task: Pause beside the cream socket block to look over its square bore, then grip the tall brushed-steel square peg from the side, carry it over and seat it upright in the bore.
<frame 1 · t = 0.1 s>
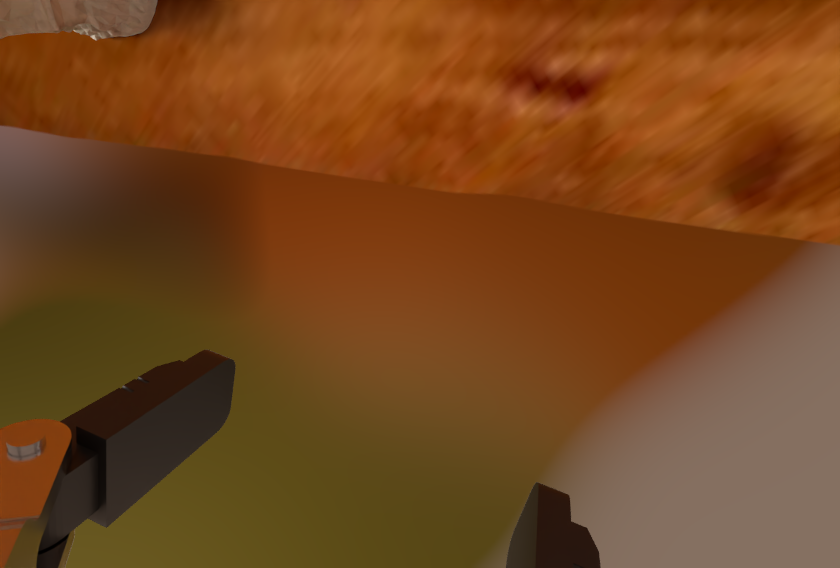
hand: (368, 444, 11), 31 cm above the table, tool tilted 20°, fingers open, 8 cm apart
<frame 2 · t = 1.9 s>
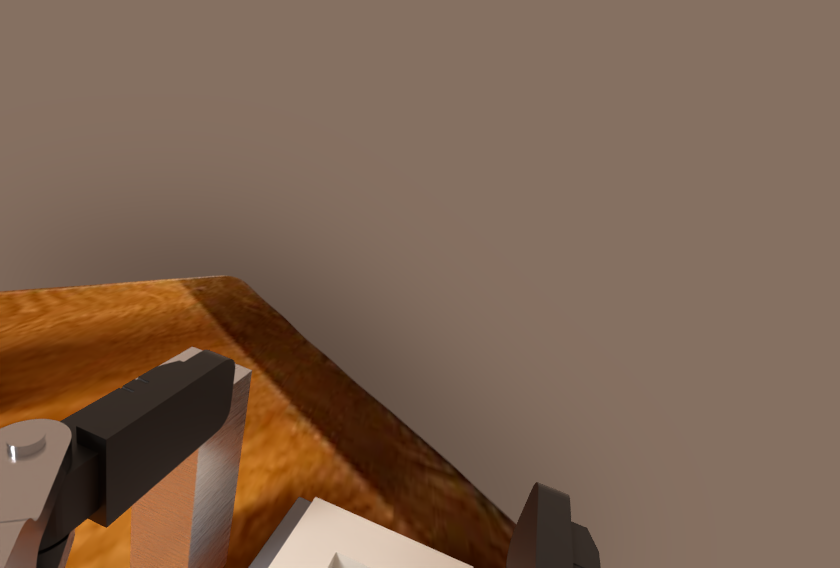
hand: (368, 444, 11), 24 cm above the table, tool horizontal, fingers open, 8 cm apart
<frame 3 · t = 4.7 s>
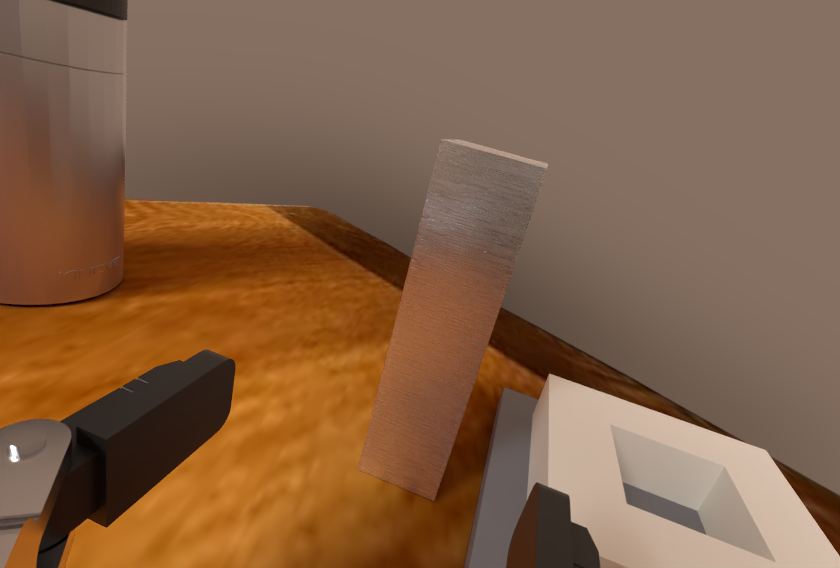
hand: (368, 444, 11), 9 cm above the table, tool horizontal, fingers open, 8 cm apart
socket block: (639, 553, 22), on the table
steel peg: (407, 458, 24), on the table
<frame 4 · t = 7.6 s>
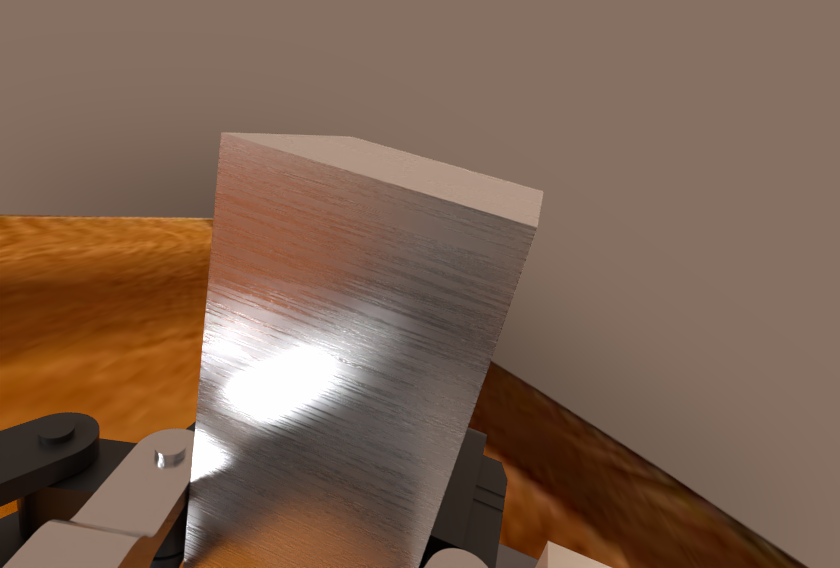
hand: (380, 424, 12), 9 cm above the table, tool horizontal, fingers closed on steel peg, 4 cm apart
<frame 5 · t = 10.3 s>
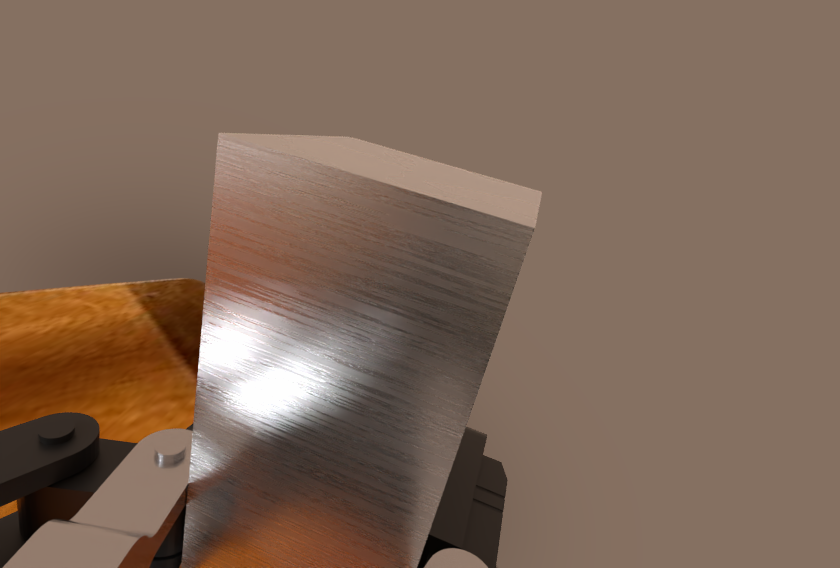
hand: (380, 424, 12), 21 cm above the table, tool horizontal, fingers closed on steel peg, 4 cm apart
when the fingers open (11 cm above the table, at t = 12.9 s): steel peg stays where it is, resting on socket block.
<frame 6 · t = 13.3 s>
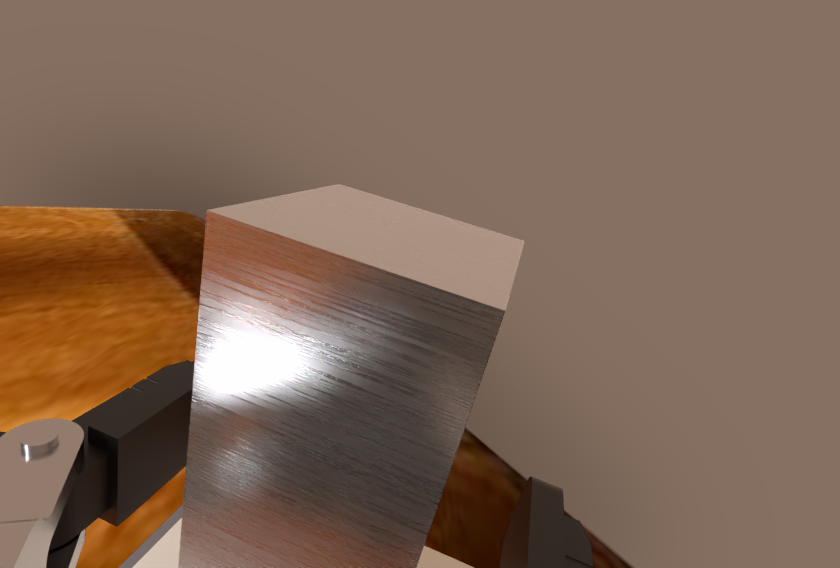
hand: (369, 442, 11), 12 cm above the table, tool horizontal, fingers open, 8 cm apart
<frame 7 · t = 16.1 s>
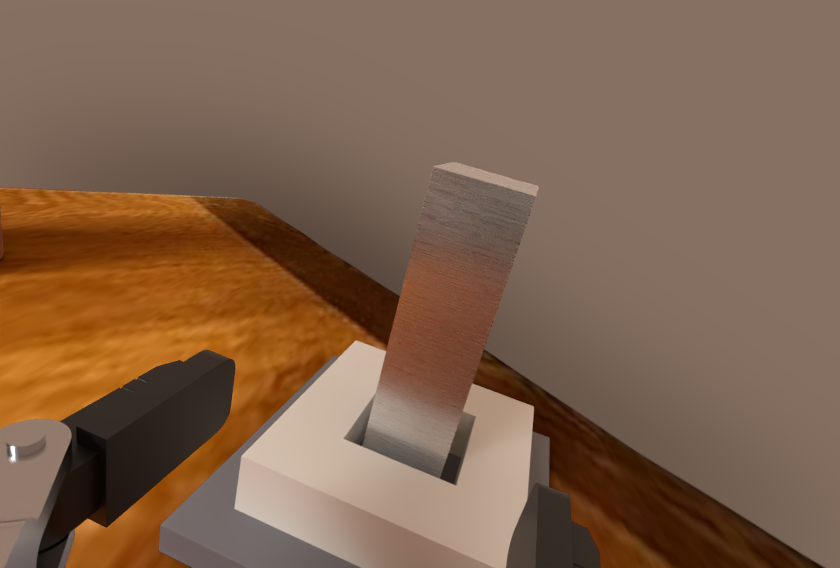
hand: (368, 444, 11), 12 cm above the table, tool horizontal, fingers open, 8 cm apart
socket block: (396, 491, 25), on the table
steel peg: (401, 471, 24), point 1 cm above the table, touching socket block
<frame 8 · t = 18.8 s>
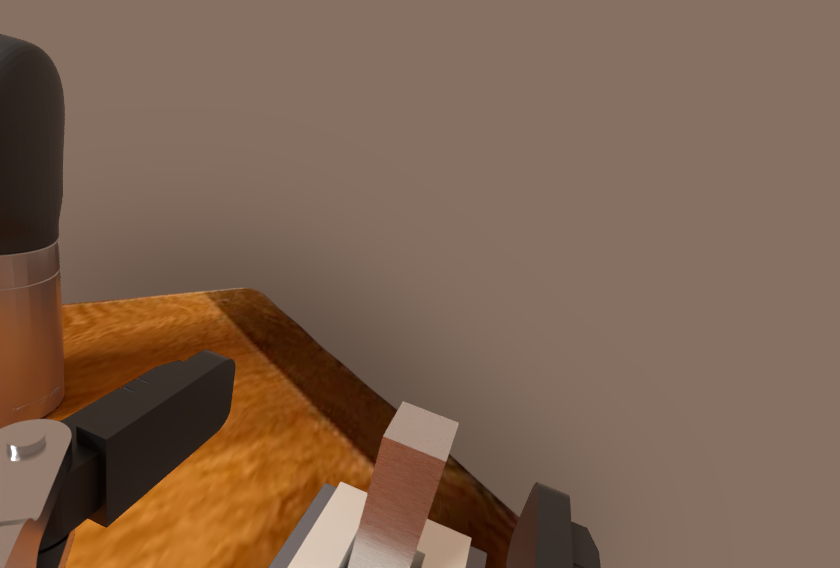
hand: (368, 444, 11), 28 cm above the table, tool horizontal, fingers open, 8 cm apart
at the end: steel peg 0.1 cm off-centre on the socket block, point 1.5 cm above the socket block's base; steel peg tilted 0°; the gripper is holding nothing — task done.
